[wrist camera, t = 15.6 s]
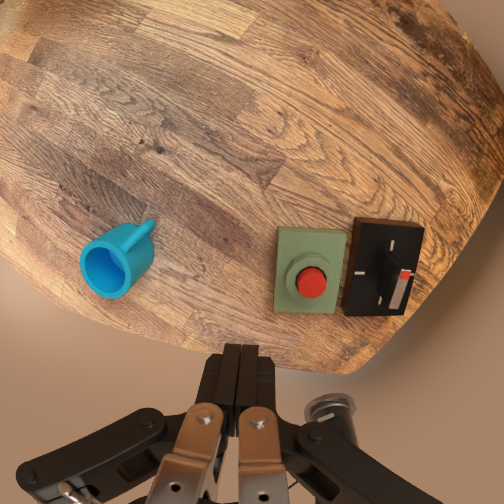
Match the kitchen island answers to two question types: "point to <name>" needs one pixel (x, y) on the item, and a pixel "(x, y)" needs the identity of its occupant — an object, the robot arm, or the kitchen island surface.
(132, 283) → the mug
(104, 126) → the kitchen island surface
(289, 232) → the block
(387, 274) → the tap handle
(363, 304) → the base
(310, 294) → the button
